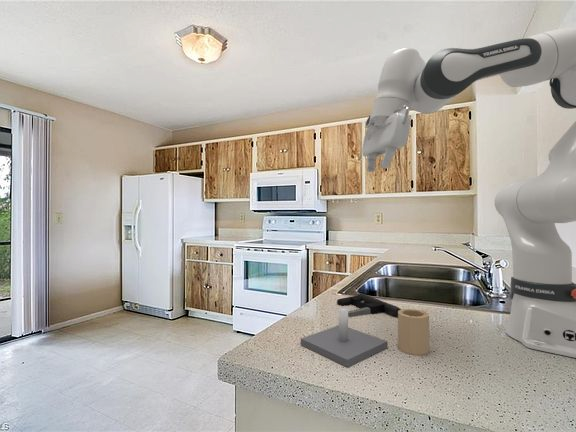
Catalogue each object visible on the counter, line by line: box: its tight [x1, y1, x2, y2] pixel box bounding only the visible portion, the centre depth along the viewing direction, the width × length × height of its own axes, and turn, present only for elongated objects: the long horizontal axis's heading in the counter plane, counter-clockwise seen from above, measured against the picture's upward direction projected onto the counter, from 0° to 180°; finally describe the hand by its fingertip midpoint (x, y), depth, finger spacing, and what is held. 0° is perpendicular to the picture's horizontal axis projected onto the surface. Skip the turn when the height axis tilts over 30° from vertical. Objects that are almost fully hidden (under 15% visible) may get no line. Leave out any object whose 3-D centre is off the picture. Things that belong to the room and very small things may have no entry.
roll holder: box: [300, 307, 389, 368], centre depth 71 cm, size 14×14×8 cm
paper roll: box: [397, 308, 430, 356], centre depth 69 cm, size 6×6×8 cm
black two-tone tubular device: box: [336, 293, 401, 318], centre depth 98 cm, size 3×20×16 cm
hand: (376, 169), depth 78 cm, fingers open, 8 cm apart
